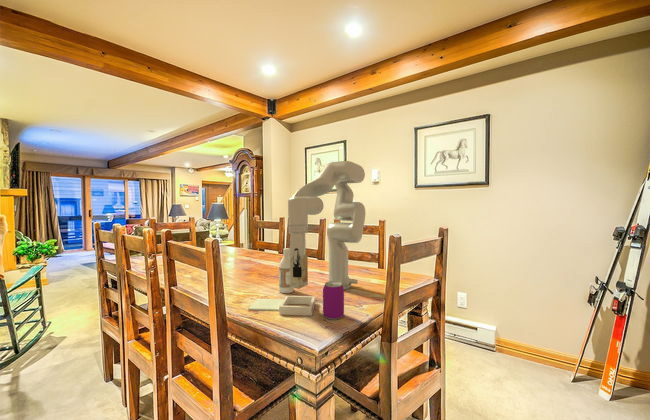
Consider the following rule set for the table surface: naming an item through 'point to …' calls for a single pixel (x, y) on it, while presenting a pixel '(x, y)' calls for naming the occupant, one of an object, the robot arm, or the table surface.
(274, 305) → the mat
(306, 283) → the skincare box
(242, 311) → the table surface
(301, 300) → the collar
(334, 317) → the beverage can
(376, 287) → the table surface
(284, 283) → the bath foam
